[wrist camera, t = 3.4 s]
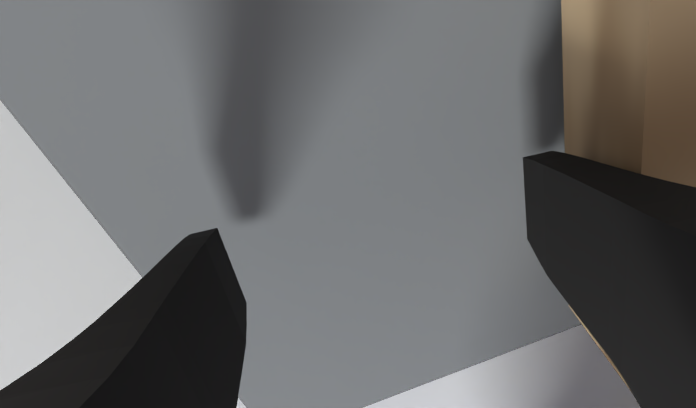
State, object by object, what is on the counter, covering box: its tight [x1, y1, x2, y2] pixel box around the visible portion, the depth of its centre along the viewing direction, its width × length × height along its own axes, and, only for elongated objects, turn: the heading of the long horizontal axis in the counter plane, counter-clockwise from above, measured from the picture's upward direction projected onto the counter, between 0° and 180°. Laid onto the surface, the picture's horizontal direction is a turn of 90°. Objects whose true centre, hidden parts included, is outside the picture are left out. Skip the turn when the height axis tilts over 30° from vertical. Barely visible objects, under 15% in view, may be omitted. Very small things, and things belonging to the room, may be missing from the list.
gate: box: [561, 0, 696, 391], centre depth 10 cm, size 10×1×3 cm, turn 13°
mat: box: [0, 0, 581, 408], centre depth 12 cm, size 15×16×1 cm
